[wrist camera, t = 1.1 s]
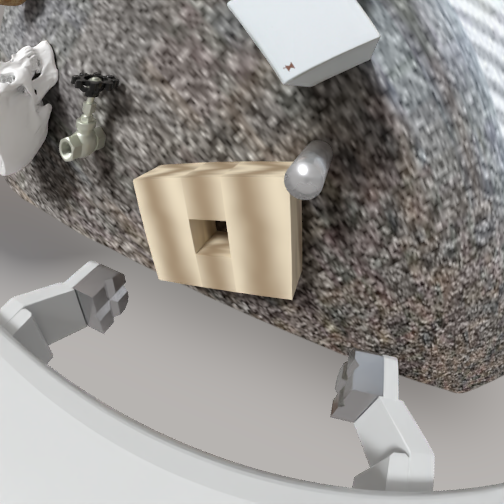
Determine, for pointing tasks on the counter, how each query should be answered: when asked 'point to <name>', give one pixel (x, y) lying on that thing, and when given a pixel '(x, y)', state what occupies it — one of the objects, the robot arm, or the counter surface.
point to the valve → (87, 118)
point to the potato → (11, 2)
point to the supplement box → (308, 36)
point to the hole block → (237, 220)
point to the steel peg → (309, 171)
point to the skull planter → (24, 105)
